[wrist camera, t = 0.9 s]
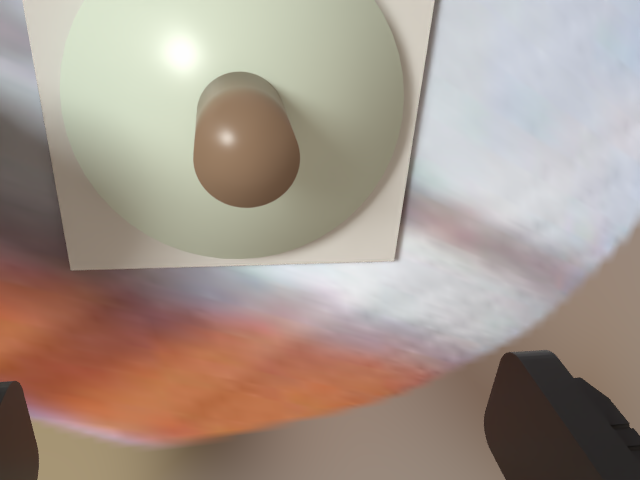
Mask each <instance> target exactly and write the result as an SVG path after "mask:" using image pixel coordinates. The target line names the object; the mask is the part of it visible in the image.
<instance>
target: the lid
mask: <svg viewBox="0 0 640 480" xmlns="http://www.w3.org/2000/svg"><path fill="white" fill-rule="evenodd" d="M60 100H61V111H62V116H63V121H64V125H65V129H66V134H67V137H68V139H69V142H70V145H71V147H72V150H73V153H74V155H75V157H76V159H77V161H78V163H79V165H80V167H81V168H82V170H83V172H84V174H85V176H86V177H87V179H88V180H89V181H90V183H91V184H92V186H93V187H94V188H95V190H96V191H97V193H98V194H99V195H100V196H101V197H102V198H103V199H104V200H105V202H106V203H107V204H108V205H109V206H110V207H111V208H112V209H113V210H114V211H115V212H116V213H118V214H119V215H120V216H121V217H122V218H123V219H125V220H126V221H127V222H128V223H129V224H131V225H132V226H134V227H135V228H137V229H138V230H140V231H141V232H143V233H144V234H146V235H148V236H150V237H152V238H154V239H156V240H158V241H160V242H162V243H163V244H166V245H168V246H171V247H174V248H176V249H179V250H182V251H185V252H189V253H193V254H197V255H201V256H207V257H214V258H221V259H248V258H260V257H266V256H271V255H276V254H280V253H283V252H287V251H290V250H293V249H296V248H299V247H301V246H303V245H305V244H308V243H310V242H312V241H314V240H316V239H318V238H320V237H321V236H323V235H325V234H326V233H328V232H330V231H332V230H333V229H334V228H336V227H337V226H338V225H339V224H341V223H342V222H343V221H345V220H346V219H347V218H348V217H349V216H350V215H351V214H353V213H354V212H355V211H356V210H357V209H358V208H359V207H360V206H361V205H362V203H363V202H364V201H365V200H366V199H367V197H368V196H369V195H370V194H371V193H372V191H373V190H374V188H375V187H376V185H377V184H378V182H379V181H380V179H381V177H382V176H383V174H384V172H385V170H386V168H387V166H388V164H389V162H390V160H391V158H392V155H393V152H394V149H395V146H396V143H397V140H398V137H399V132H400V127H401V123H402V117H403V104H404V86H403V73H402V68H401V62H400V57H399V53H398V50H397V46H396V43H395V40H394V37H393V34H392V32H391V30H390V27H389V25H388V23H387V21H386V19H385V17H384V15H383V13H382V11H381V10H380V8H379V6H378V5H377V3H376V2H375V0H84V1H83V3H82V5H81V7H80V9H79V11H78V12H77V14H76V16H75V18H74V20H73V23H72V26H71V28H70V31H69V34H68V37H67V39H66V42H65V47H64V52H63V57H62V62H61V71H60Z"/></svg>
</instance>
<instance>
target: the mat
mask: <svg viewBox="0 0 640 480" xmlns="http://www.w3.org/2000/svg"><path fill="white" fill-rule="evenodd" d="M22 1H23V6H24V12H25V17H26V23H27V29H28V34H29V40H30V45H31V51H32V57H33V62H34V68H35V73H36V79H37V85H38V90H39V96H40V101H41V107H42V113H43V118H44V124H45V129H46V135H47V140H48V146H49V152H50V157H51V163H52V168H53V174H54V180H55V185H56V191H57V196H58V202H59V208H60V213H61V219H62V224H63V230H64V236H65V241H66V247H67V252H68V258H69V263H70V269H71V271H72V270H107V269H141V268H176V267H210V266H245V265H279V264H314V263H348V262H383V261H394V257H395V251H396V245H397V238H398V232H399V225H400V219H401V213H402V206H403V200H404V194H405V187H406V181H407V174H408V168H409V162H410V155H411V149H412V142H413V136H414V130H415V123H416V117H417V110H418V104H419V98H420V91H421V85H422V78H423V72H424V66H425V59H426V53H427V47H428V40H429V34H430V27H431V21H432V15H433V8H434V2H435V0H375V2H376V3H377V5H378V6H379V8H380V10H381V11H382V13H383V15H384V17H385V19H386V21H387V23H388V25H389V27H390V30H391V32H392V34H393V37H394V40H395V43H396V46H397V50H398V53H399V57H400V62H401V68H402V73H403V86H404V104H403V117H402V123H401V127H400V132H399V137H398V140H397V143H396V146H395V149H394V152H393V155H392V158H391V160H390V162H389V164H388V166H387V168H386V170H385V172H384V174H383V176H382V177H381V179H380V181H379V182H378V184H377V185H376V187H375V188H374V190H373V191H372V193H371V194H370V195H369V196H368V197H367V199H366V200H365V201H364V202H363V203H362V205H361V206H360V207H359V208H358V209H357V210H356V211H355V212H354V213H353V214H351V215H350V216H349V217H348V218H347V219H346V220H345V221H343V222H342V223H341V224H339V225H338V226H337V227H336V228H334V229H333V230H332V231H330V232H328V233H326V234H325V235H323V236H321V237H320V238H318V239H316V240H314V241H312V242H310V243H308V244H305V245H303V246H301V247H299V248H296V249H293V250H290V251H287V252H283V253H280V254H276V255H271V256H266V257H260V258H248V259H221V258H214V257H207V256H201V255H197V254H193V253H189V252H185V251H182V250H179V249H176V248H174V247H171V246H168V245H166V244H163V243H162V242H160V241H158V240H156V239H154V238H152V237H150V236H148V235H146V234H144V233H143V232H141V231H140V230H138V229H137V228H135V227H134V226H132V225H131V224H129V223H128V222H127V221H126V220H125V219H123V218H122V217H121V216H120V215H119V214H118V213H116V212H115V211H114V210H113V209H112V208H111V207H110V206H109V205H108V204H107V203H106V202H105V200H104V199H103V198H102V197H101V196H100V195H99V194H98V193H97V191H96V190H95V188H94V187H93V186H92V184H91V183H90V181H89V180H88V179H87V177H86V176H85V174H84V172H83V170H82V168H81V167H80V165H79V163H78V161H77V159H76V157H75V155H74V153H73V150H72V147H71V145H70V142H69V139H68V137H67V134H66V129H65V125H64V121H63V116H62V111H61V100H60V71H61V62H62V57H63V52H64V47H65V42H66V39H67V37H68V34H69V31H70V28H71V26H72V23H73V20H74V18H75V16H76V14H77V12H78V11H79V9H80V7H81V5H82V3H83V1H84V0H22Z"/></svg>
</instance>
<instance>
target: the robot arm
mask: <svg viewBox="0 0 640 480" xmlns="http://www.w3.org/2000/svg"><path fill="white" fill-rule="evenodd" d="M484 429H485V435H486V439H487V443H488V445H489V448H490V450H491V452H492V454H493V456H494V458H495V460H496V462H497V463H498V465H499V467H500V469H501V471H502V473H503V475H504V477H505V479H506V480H640V436H639V435H638V433H637V432H636V431H635V430H634V429H633V428H632V429H631V428H630V427H629V423H628V421H627V420H626V419H625V417H624V416H623V415H622V414H621V413H620V411H619V410H618V409H617V408H616V406H615V405H614V404H613V403H612V402H611V400H610V399H609V398H608V397H606V396H605V395H604V394H602V393H601V392H599V391H598V390H597V389H595V388H594V387H593V386H591V385H590V384H589V383H587V382H586V381H585V380H583V379H582V378H573V377H572V375H571V374H570V373H569V372H568V371H567V369H566V368H565V366H564V365H563V364H562V363H561V361H560V360H559V359H558V358H557V357H556V355H555V354H554V353H552V352H550V351H548V350H541V351H525V352H509V353H506V354H504V356H503V357H502V358H501V361H500V364H499V367H498V371H497V374H496V377H495V381H494V384H493V388H492V391H491V394H490V398H489V401H488V404H487V407H486V411H485V416H484ZM38 469H39V454H38V448H37V443H36V439H35V436H34V432H33V428H32V424H31V420H30V416H29V412H28V408H27V404H26V401H25V397H24V393H23V389H22V387H21V385H20V383H19V382H17V381H10V382H0V480H37V478H38Z"/></svg>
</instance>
